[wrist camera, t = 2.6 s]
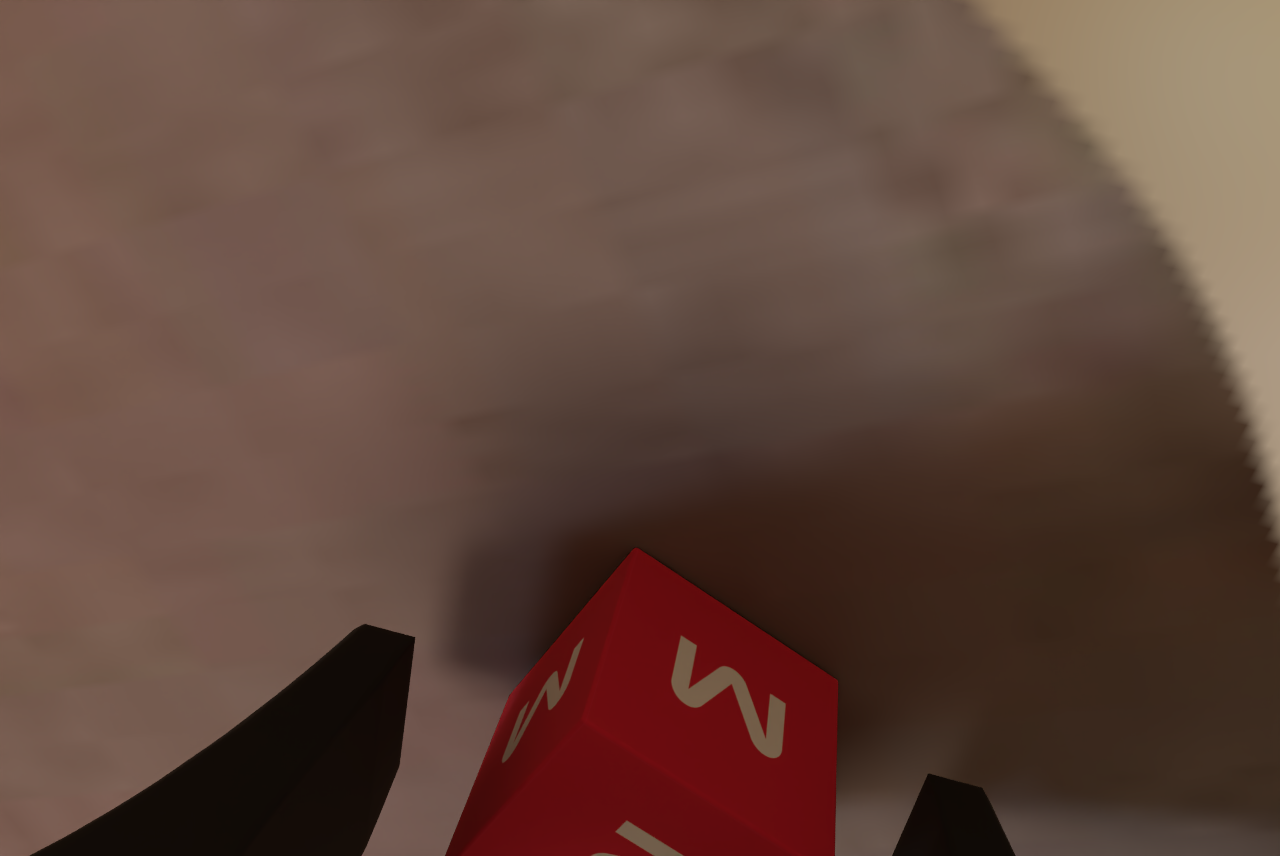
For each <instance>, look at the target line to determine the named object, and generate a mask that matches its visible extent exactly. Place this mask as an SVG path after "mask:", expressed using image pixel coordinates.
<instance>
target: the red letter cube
mask: <svg viewBox="0 0 1280 856" xmlns="http://www.w3.org/2000/svg"><path fill="white" fill-rule="evenodd" d="M837 716H838V680H837V679H835V678H834V677H832V676H831V675H829V674H828V673H826V672H825V671H823V670H821V669H820V668H818V667H817V666H815V665H814V664H812V663H811V662H809V661H808V660H806V659H805V658H803V657H802V656H800V655H799V654H797V653H796V652H794V651H793V650H791V649H790V648H788V647H787V646H785V645H784V644H782V643H781V642H779V641H778V640H776V639H775V638H773V637H772V636H770V635H769V634H767V633H766V632H764V631H763V630H761V629H760V628H758V627H757V626H755V625H754V624H752V623H750V622H749V621H747V620H746V619H744V618H743V617H741V616H740V615H738V614H737V613H735V612H734V611H732V610H731V609H729V608H728V607H726V606H725V605H723V604H722V603H720V602H719V601H717V600H716V599H714V598H713V597H711V596H710V595H708V594H707V593H705V592H704V591H702V590H701V589H699V588H698V587H696V586H695V585H693V584H692V583H690V582H689V581H687V580H686V579H684V578H682V577H681V576H679V575H678V574H676V573H675V572H673V571H672V570H670V569H669V568H667V567H666V566H664V565H663V564H661V563H660V562H658V561H657V560H655V559H654V558H652V557H651V556H649V555H648V554H646V553H645V552H643V551H642V550H640V549H639V548H634V549H633V550H632V551H631V552H630V553H629V555H628V556H627V557H626V558H625V559H624V561H623V562H622V563H621V564H620V565H619V566H618V568H617V569H616V570H615V571H614V572H613V574H612V575H611V576H610V577H609V578H608V579H607V581H606V582H605V583H604V584H603V585H602V586H601V588H600V589H599V590H598V591H597V592H596V594H595V595H594V596H593V597H592V598H591V599H590V601H589V602H588V603H587V604H586V605H585V607H584V608H583V609H582V610H581V611H580V612H579V614H578V615H577V616H576V617H575V618H574V620H573V621H572V622H571V623H570V624H569V625H568V627H567V628H566V629H565V630H564V631H563V633H562V634H561V635H560V636H559V637H558V638H557V640H556V641H555V642H554V643H553V644H552V646H551V647H550V648H549V649H548V650H547V651H546V653H545V654H544V655H543V656H542V657H541V659H540V660H539V661H538V662H537V663H536V664H535V666H534V667H533V668H532V669H531V670H530V672H529V673H528V674H527V675H526V676H525V677H524V679H523V680H522V681H521V682H520V683H519V685H518V686H517V687H516V688H515V689H514V690H513V692H512V693H511V694H510V695H509V698H508V700H507V703H506V705H505V708H504V710H503V713H502V715H501V718H500V720H499V723H498V725H497V728H496V730H495V733H494V735H493V738H492V740H491V743H490V745H489V748H488V750H487V753H486V755H485V758H484V760H483V762H482V765H481V767H480V770H479V772H478V775H477V777H476V780H475V782H474V785H473V787H472V790H471V792H470V795H469V797H468V800H467V802H466V805H465V807H464V810H463V812H462V815H461V817H460V820H459V822H458V825H457V827H456V830H455V832H454V835H453V837H452V840H451V842H450V845H449V847H448V850H447V852H446V855H445V856H835V818H836V767H837Z"/></svg>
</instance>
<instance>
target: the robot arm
mask: <svg viewBox="0 0 1280 856" xmlns="http://www.w3.org/2000/svg"><path fill="white" fill-rule="evenodd" d="M414 643H415V637H412V636H408V635H404V634H401V633H397V632H393V631H389V630H386V629H382V628H378V627H374V626H371V625H367V624H364V625H362V626H360V627H358V628H356V629H354V630H353V631H352V632H351V633H350V634H348V635H347V636H346V637H345V638H344V639H343V640H342V641H340V642H339V643H338V644H337V645H336V646H335V647H334V648H332V649H331V650H330V651H329V652H328V653H327V654H326V655H324V656H323V657H322V658H321V659H320V660H319V661H317V662H316V663H315V664H314V665H313V666H311V667H310V668H309V669H308V670H307V671H305V672H304V673H303V674H302V675H301V676H299V677H298V678H297V679H296V680H294V681H293V682H292V683H291V684H290V685H288V686H287V687H286V688H285V689H283V690H282V691H281V692H280V693H278V694H277V695H276V696H275V697H273V698H272V699H271V700H269V701H268V702H267V703H266V704H264V705H263V706H262V707H260V708H259V709H258V710H256V711H255V712H254V713H252V714H251V715H250V716H249V717H247V718H246V719H245V720H243V721H242V722H241V723H239V724H238V725H237V726H236V727H234V728H233V729H232V730H230V731H229V732H228V733H226V734H225V735H223V736H222V737H221V738H219V739H218V740H217V741H215V742H214V743H212V744H211V745H209V746H208V747H207V748H205V749H204V750H202V751H201V752H199V753H198V754H196V755H195V756H193V757H192V758H191V759H189V760H188V761H186V762H185V763H183V764H182V765H180V766H179V767H177V768H176V769H175V770H173V771H172V772H170V773H169V774H167V775H166V776H164V777H163V778H161V779H160V780H159V781H157V782H155V783H154V784H152V785H151V786H149V787H148V788H146V789H145V790H143V791H141V792H140V793H138V794H137V795H135V796H134V797H132V798H130V799H129V800H127V801H126V802H124V803H122V804H121V805H119V806H117V807H116V808H114V809H112V810H111V811H109V812H107V813H106V814H104V815H102V816H101V817H99V818H97V819H95V820H94V821H92V822H90V823H88V824H87V825H85V826H83V827H82V828H80V829H78V830H76V831H75V832H73V833H71V834H69V835H68V836H66V837H64V838H62V839H60V840H58V841H56V842H55V843H53V844H51V845H49V846H47V847H45V848H43V849H41V850H39V851H37V852H36V853H34V854H32V855H30V856H361V855H362V854H363V852H364V850H365V848H366V846H367V844H368V841H369V839H370V836H371V834H372V832H373V829H374V827H375V825H376V822H377V820H378V817H379V815H380V813H381V810H382V808H383V805H384V803H385V800H386V798H387V795H388V793H389V790H390V788H391V785H392V783H393V780H394V778H395V775H396V773H397V770H398V768H399V765H400V757H401V749H402V741H403V732H404V724H405V716H406V708H407V700H408V692H409V684H410V676H411V667H412V659H413V651H414ZM892 856H1015V854H1014V852H1013V849H1012V847H1011V845H1010V843H1009V841H1008V839H1007V837H1006V835H1005V833H1004V831H1003V829H1002V826H1001V824H1000V822H999V820H998V818H997V816H996V814H995V812H994V810H993V807H992V805H991V803H990V801H989V799H988V797H987V795H986V794H985V792H984V790H983V789H982V788H981V787H977V786H973V785H969V784H966V783H962V782H958V781H954V780H951V779H947V778H943V777H939V776H935V775H932V774H928V775H927V777H926V780H925V782H924V784H923V786H922V789H921V791H920V793H919V796H918V798H917V800H916V802H915V805H914V807H913V809H912V812H911V814H910V816H909V818H908V821H907V823H906V825H905V828H904V830H903V832H902V834H901V837H900V839H899V841H898V844H897V846H896V848H895V850H894V853H893V855H892Z"/></svg>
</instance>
